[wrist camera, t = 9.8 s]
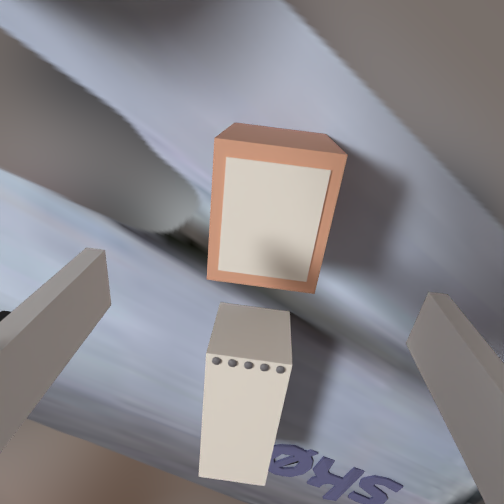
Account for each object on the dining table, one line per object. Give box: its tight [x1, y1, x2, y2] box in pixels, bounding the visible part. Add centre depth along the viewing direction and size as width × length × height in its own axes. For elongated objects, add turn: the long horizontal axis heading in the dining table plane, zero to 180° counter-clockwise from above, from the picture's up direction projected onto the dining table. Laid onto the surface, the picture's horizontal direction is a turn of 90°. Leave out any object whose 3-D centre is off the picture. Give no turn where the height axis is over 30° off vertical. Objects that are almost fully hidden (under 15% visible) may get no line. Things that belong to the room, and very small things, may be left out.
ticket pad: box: [199, 302, 292, 486], centre depth 38 cm, size 20×8×8 cm, turn 174°
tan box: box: [207, 123, 348, 294], centre depth 26 cm, size 10×8×10 cm
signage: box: [268, 444, 403, 504], centre depth 50 cm, size 28×1×10 cm
